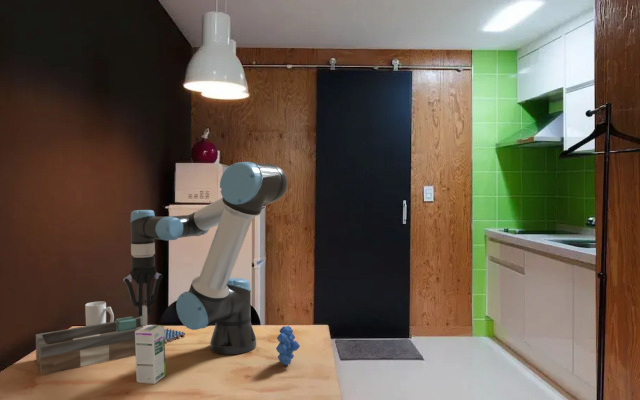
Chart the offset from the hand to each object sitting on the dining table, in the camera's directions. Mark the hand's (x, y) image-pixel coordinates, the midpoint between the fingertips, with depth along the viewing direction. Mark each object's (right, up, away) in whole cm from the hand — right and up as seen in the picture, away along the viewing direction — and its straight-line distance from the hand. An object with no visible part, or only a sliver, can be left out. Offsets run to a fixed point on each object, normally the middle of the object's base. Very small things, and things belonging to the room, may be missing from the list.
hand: (144, 324), depth 156 cm
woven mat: (+4, -8, +8) cm, 12 cm away
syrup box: (+13, -8, -28) cm, 32 cm away
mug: (-20, -7, +10) cm, 23 cm away
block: (-5, -2, -4) cm, 6 cm away
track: (-12, -7, -9) cm, 16 cm away
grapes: (+50, -7, -19) cm, 54 cm away
